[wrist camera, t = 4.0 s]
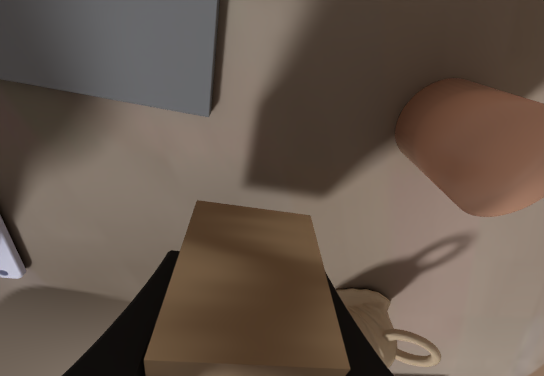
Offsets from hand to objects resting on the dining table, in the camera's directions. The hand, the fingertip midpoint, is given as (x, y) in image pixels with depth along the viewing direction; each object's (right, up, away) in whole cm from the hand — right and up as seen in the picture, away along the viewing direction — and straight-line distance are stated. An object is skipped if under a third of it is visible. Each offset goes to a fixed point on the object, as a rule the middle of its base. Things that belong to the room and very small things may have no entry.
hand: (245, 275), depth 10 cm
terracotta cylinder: (+9, +7, +2) cm, 11 cm away
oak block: (0, +1, +1) cm, 1 cm away
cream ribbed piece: (+7, -5, +10) cm, 13 cm away
